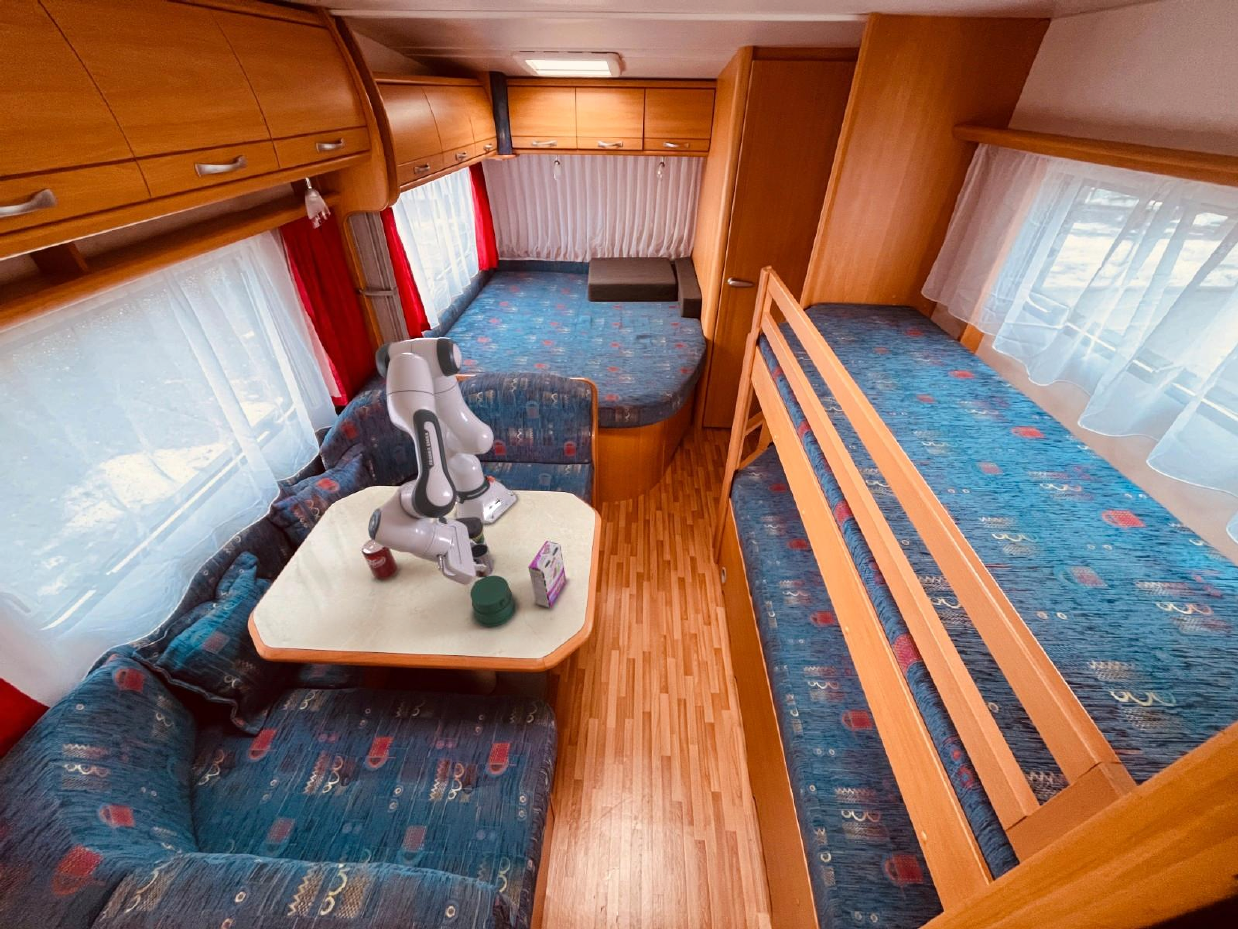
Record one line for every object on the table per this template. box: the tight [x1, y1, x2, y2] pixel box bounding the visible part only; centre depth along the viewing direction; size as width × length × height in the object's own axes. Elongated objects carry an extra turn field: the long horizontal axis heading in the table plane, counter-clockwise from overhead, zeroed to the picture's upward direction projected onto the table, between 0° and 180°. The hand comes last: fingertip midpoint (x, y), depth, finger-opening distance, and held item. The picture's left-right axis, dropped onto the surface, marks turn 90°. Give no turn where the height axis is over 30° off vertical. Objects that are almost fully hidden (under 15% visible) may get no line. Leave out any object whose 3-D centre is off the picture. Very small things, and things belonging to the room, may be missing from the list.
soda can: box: [361, 538, 398, 580], centre depth 148 cm, size 7×7×12 cm
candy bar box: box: [527, 540, 567, 609], centre depth 138 cm, size 11×5×16 cm, turn 160°
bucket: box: [469, 575, 517, 628], centre depth 136 cm, size 12×12×9 cm
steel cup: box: [471, 544, 495, 579], centre depth 126 cm, size 5×5×8 cm
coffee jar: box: [454, 517, 492, 556], centre depth 148 cm, size 10×8×19 cm
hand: (483, 558), depth 126 cm, fingers closed on steel cup, 5 cm apart
